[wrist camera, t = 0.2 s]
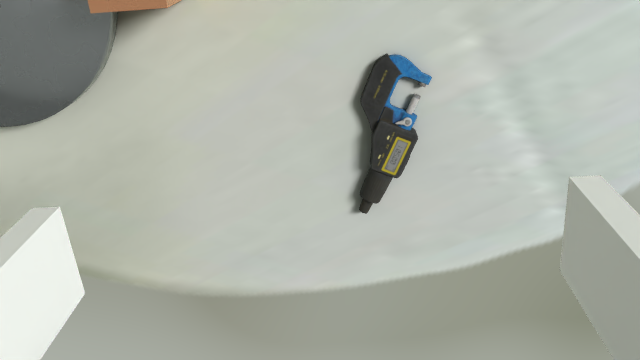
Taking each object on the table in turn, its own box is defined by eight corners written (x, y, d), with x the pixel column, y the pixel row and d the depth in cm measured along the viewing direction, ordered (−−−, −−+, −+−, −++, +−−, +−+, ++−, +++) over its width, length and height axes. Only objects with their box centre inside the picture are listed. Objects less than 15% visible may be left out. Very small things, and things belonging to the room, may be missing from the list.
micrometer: (382, 50, 40) (450, 78, 40) (381, 45, 41) (445, 71, 42) (318, 200, 44) (380, 222, 45) (318, 189, 46) (378, 211, 46)
